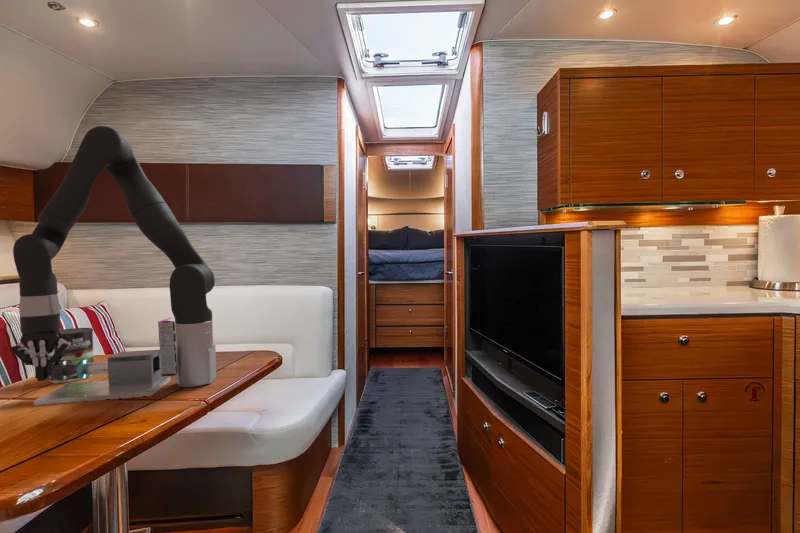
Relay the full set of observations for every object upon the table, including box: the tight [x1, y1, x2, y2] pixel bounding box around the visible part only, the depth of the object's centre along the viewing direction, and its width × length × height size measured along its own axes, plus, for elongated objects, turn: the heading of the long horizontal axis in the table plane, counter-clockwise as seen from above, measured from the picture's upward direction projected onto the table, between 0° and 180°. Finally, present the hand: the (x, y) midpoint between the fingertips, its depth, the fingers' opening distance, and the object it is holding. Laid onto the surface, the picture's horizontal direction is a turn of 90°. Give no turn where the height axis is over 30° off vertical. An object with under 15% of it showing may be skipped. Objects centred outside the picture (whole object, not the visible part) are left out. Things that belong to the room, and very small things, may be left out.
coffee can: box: [49, 327, 95, 384], centre depth 115 cm, size 10×10×14 cm
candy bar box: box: [157, 315, 177, 376], centre depth 121 cm, size 11×5×16 cm, turn 6°
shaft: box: [51, 359, 108, 381], centre depth 102 cm, size 18×5×5 cm, turn 101°
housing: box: [33, 349, 171, 406], centre depth 102 cm, size 26×13×10 cm, turn 101°
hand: (43, 380), depth 99 cm, fingers closed
